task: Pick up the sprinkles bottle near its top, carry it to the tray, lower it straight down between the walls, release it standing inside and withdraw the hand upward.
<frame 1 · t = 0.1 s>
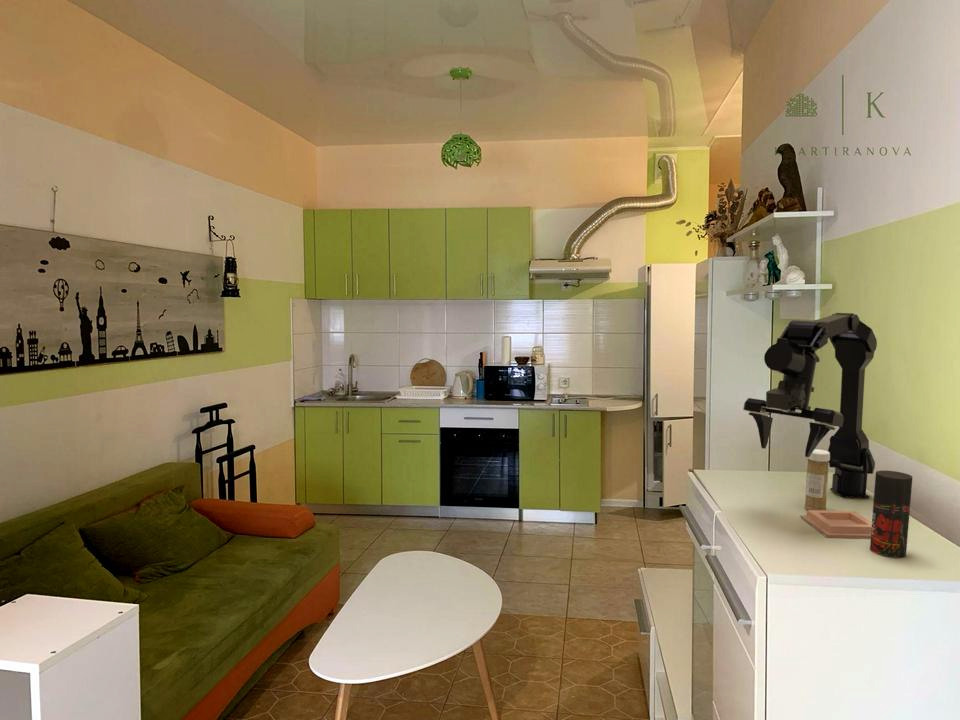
hand: (784, 452, 143), 15 cm above the cabinet, tool pointing down, fingers open, 9 cm apart
deodorant: (887, 552, 130), on the cabinet
tray: (842, 527, 143), on the cabinet
sprinkles bottle: (814, 510, 155), on the cabinet
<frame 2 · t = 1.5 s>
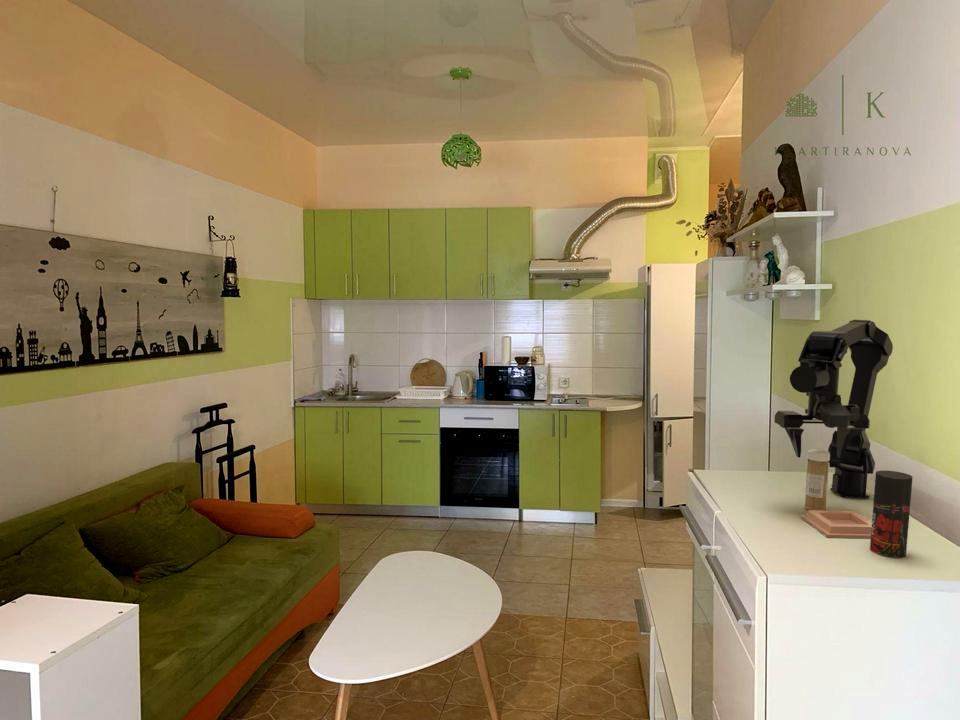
hand: (818, 457, 154), 12 cm above the cabinet, tool pointing down, fingers open, 9 cm apart
nothing on the cabinet moved.
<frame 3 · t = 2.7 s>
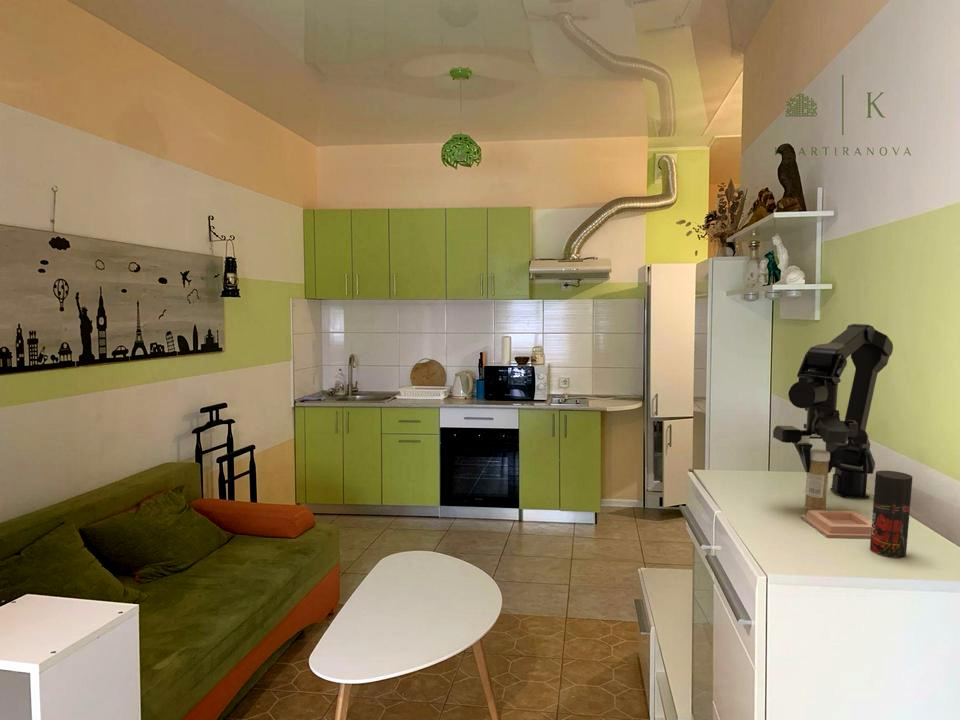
hand: (817, 472, 154), 9 cm above the cabinet, tool pointing down, fingers closed on sprinkles bottle, 4 cm apart
sprinkles bottle: (814, 510, 155), on the cabinet, touching gripper
everything else where it was.
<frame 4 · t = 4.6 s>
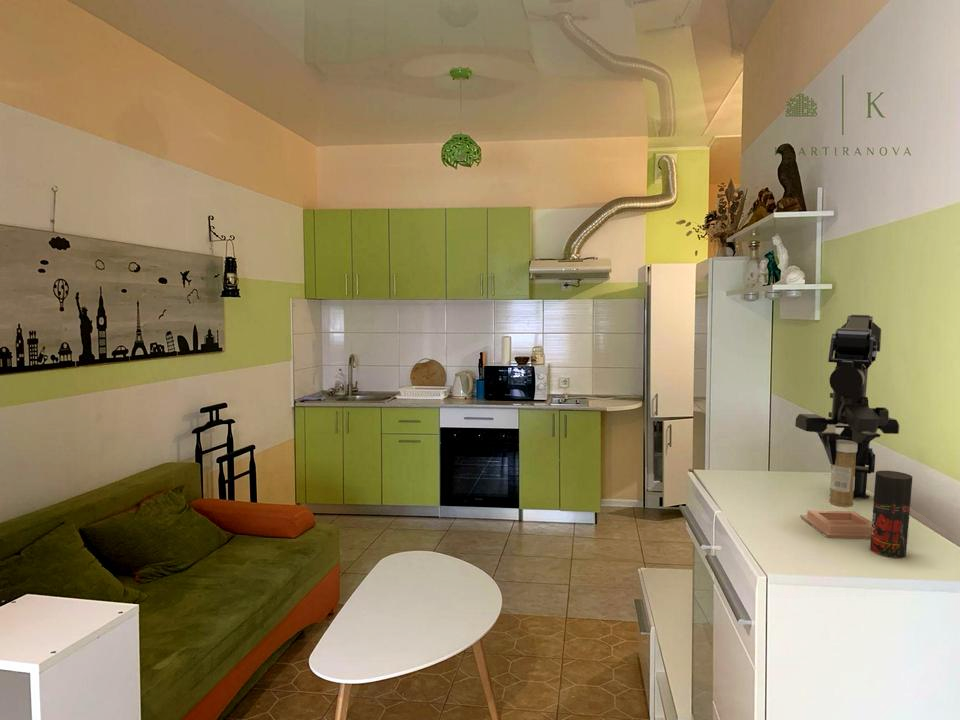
hand: (843, 464, 143), 13 cm above the cabinet, tool pointing down, fingers closed on sprinkles bottle, 4 cm apart
sprinkles bottle: (840, 505, 144), point 4 cm above the cabinet, touching gripper
everything else where it was.
when the fingers open (9 cm above the cabinet, at t = 6.3 s): sprinkles bottle stays where it is, resting on tray.
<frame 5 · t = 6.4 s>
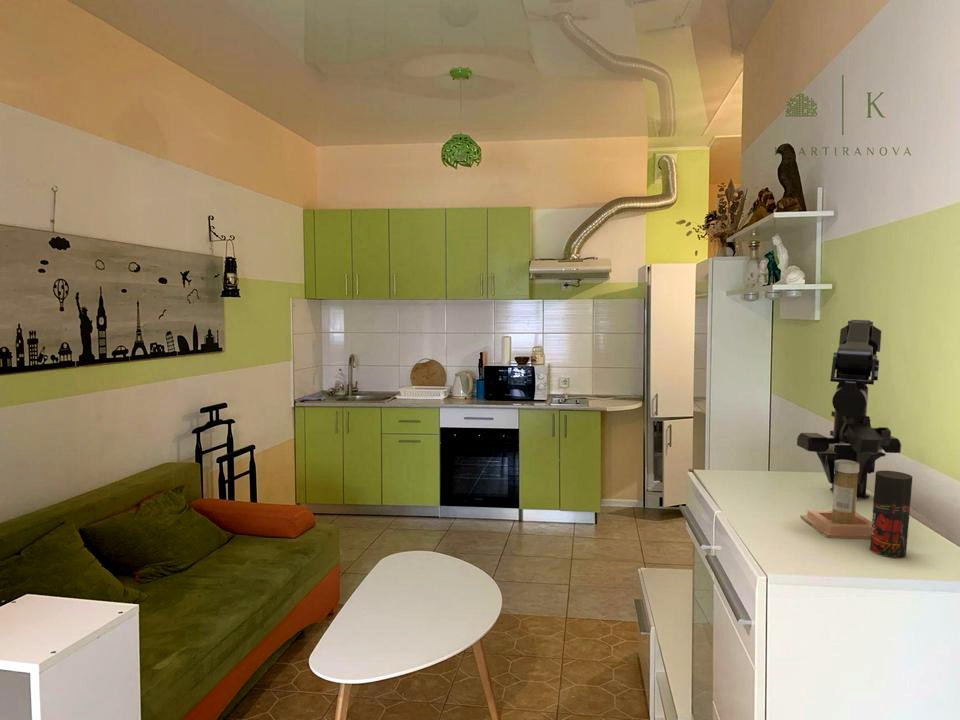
hand: (845, 483, 142), 9 cm above the cabinet, tool pointing down, fingers open, 6 cm apart
sprinkles bottle: (842, 525, 143), resting on tray
everything else where it was.
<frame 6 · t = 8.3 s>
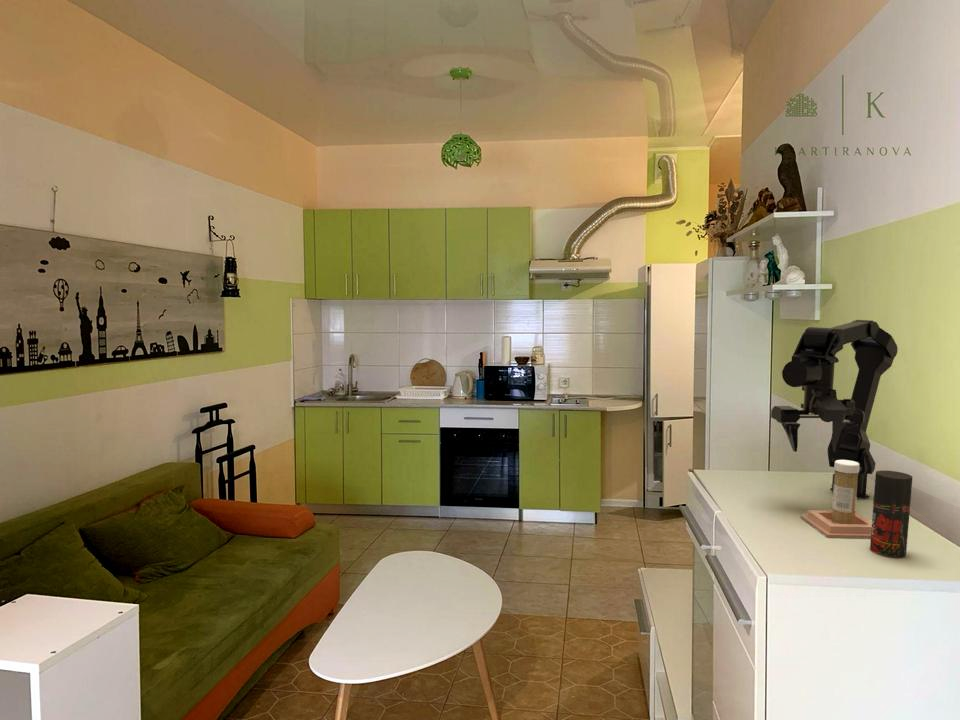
hand: (814, 451, 156), 13 cm above the cabinet, tool pointing down, fingers open, 9 cm apart
nothing on the cabinet moved.
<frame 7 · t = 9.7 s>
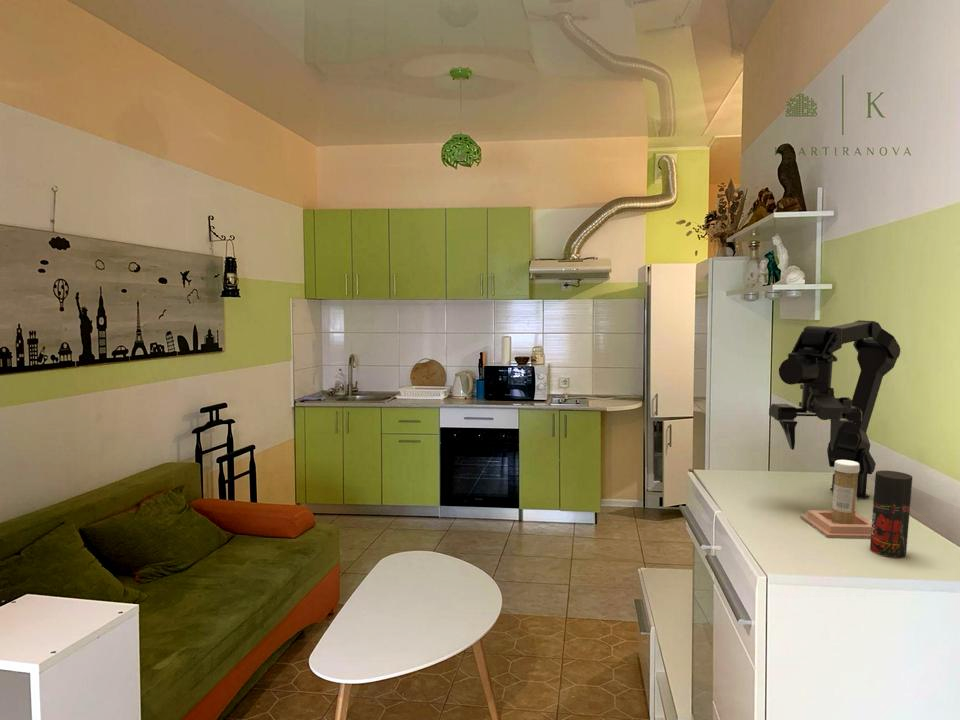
hand: (812, 449, 157), 13 cm above the cabinet, tool pointing down, fingers open, 9 cm apart
nothing on the cabinet moved.
at the end: sprinkles bottle 0.1 cm off-centre on the tray, point 0.4 cm above the tray's base; sprinkles bottle tilted 0°; the gripper is holding nothing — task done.
